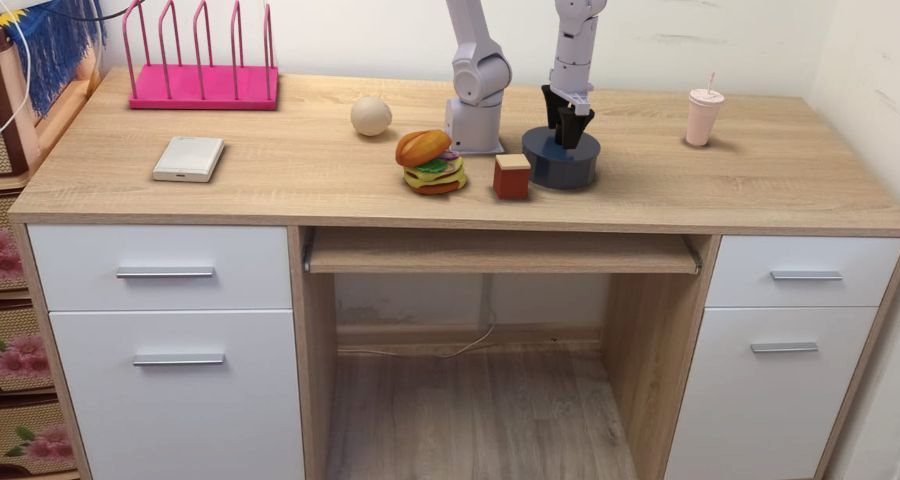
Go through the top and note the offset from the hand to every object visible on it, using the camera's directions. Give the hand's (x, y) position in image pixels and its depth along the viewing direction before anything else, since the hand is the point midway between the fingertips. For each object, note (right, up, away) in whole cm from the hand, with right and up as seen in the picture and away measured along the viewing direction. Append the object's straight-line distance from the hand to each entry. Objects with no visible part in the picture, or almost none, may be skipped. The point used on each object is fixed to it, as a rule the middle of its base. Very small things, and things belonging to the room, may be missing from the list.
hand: (561, 138), depth 137 cm
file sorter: (-65, +12, +20) cm, 69 cm away
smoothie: (+27, +2, +20) cm, 33 cm away
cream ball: (-33, +2, +11) cm, 35 cm away
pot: (-1, -6, +4) cm, 7 cm away
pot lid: (0, -1, +1) cm, 1 cm away
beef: (-9, -10, -4) cm, 13 cm away
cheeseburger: (-22, -8, -3) cm, 23 cm away
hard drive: (-60, -5, -4) cm, 60 cm away
